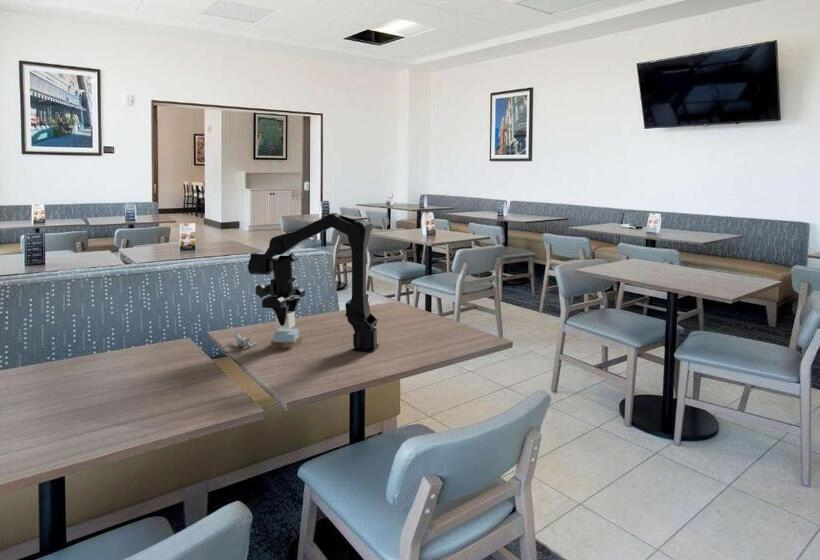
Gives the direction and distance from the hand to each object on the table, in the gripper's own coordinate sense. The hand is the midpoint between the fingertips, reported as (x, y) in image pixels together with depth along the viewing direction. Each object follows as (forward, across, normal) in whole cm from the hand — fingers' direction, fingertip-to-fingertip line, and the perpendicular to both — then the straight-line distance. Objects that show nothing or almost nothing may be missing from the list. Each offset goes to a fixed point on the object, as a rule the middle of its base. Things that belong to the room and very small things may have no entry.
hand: (285, 323), depth 184 cm
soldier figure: (+7, +4, -13) cm, 16 cm away
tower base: (+8, 0, 0) cm, 8 cm away
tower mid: (+5, 0, 0) cm, 5 cm away
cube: (+1, 0, 0) cm, 1 cm away
